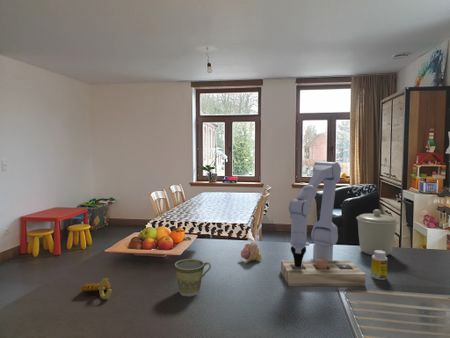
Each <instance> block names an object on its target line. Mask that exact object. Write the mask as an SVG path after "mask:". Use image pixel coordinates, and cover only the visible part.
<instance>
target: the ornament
mask: <svg viewBox="0 0 450 338" xmlns="http://www.w3.org/2000/svg"><path fill="white" fill-rule="evenodd" d="M109 279H110V278H108V277H106V278H102V279H101V281H100V282H99V283H98V282H97V283H96V282H94V283H90V282H89V283H85V284H84V285H81V287H80V289H81V291H82V292H85V291H86V292H88V291H89V292H92V291H94V292H95V291H96V292H97V291H98V292H99V296H100V299H102V300H109V298H110V297H111V295H112V291H113V289H111V287H112V285H111V283H110V282H109V281H110V280H109ZM104 290H105V291H106V293H105V291H104Z"/></svg>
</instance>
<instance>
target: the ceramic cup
mask: <svg viewBox="0 0 450 338" xmlns="http://www.w3.org/2000/svg"><path fill="white" fill-rule="evenodd" d="M207 265H209V267H208V269H206V271H204V268H205V266H207ZM211 268H212V265H211V263H210V262H204V261H203V260H200V259H198V258H197V259H196V258H186V259H181V260H178V261H176V262H174V270H175V271H174V272H175V276H176V280H177V286H178V292H179V294H180V295H181V296H183V297H193V296H197V295H198V294H199V293H200V290H201V283H202V279H203V277H205V275H206V274H207V273H208V272H209V271H210V270H211Z"/></svg>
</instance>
